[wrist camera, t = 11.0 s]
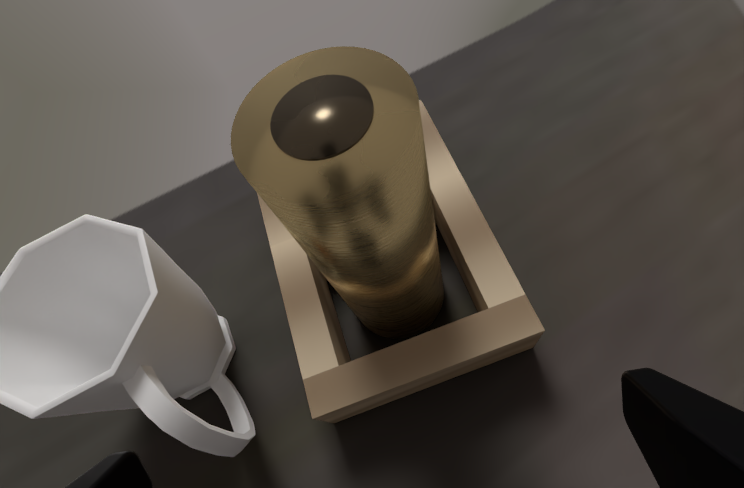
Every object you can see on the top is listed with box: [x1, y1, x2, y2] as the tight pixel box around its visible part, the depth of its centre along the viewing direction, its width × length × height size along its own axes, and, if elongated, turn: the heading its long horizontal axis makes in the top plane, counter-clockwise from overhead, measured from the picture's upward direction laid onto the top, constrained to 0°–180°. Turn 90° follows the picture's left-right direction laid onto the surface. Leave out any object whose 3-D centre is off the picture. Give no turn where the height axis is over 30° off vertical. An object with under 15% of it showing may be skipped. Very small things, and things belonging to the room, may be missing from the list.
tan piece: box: [231, 47, 444, 339], centre depth 15 cm, size 4×4×12 cm
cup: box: [0, 214, 256, 457], centre depth 17 cm, size 7×10×8 cm
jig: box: [257, 100, 545, 423], centre depth 20 cm, size 12×9×4 cm
